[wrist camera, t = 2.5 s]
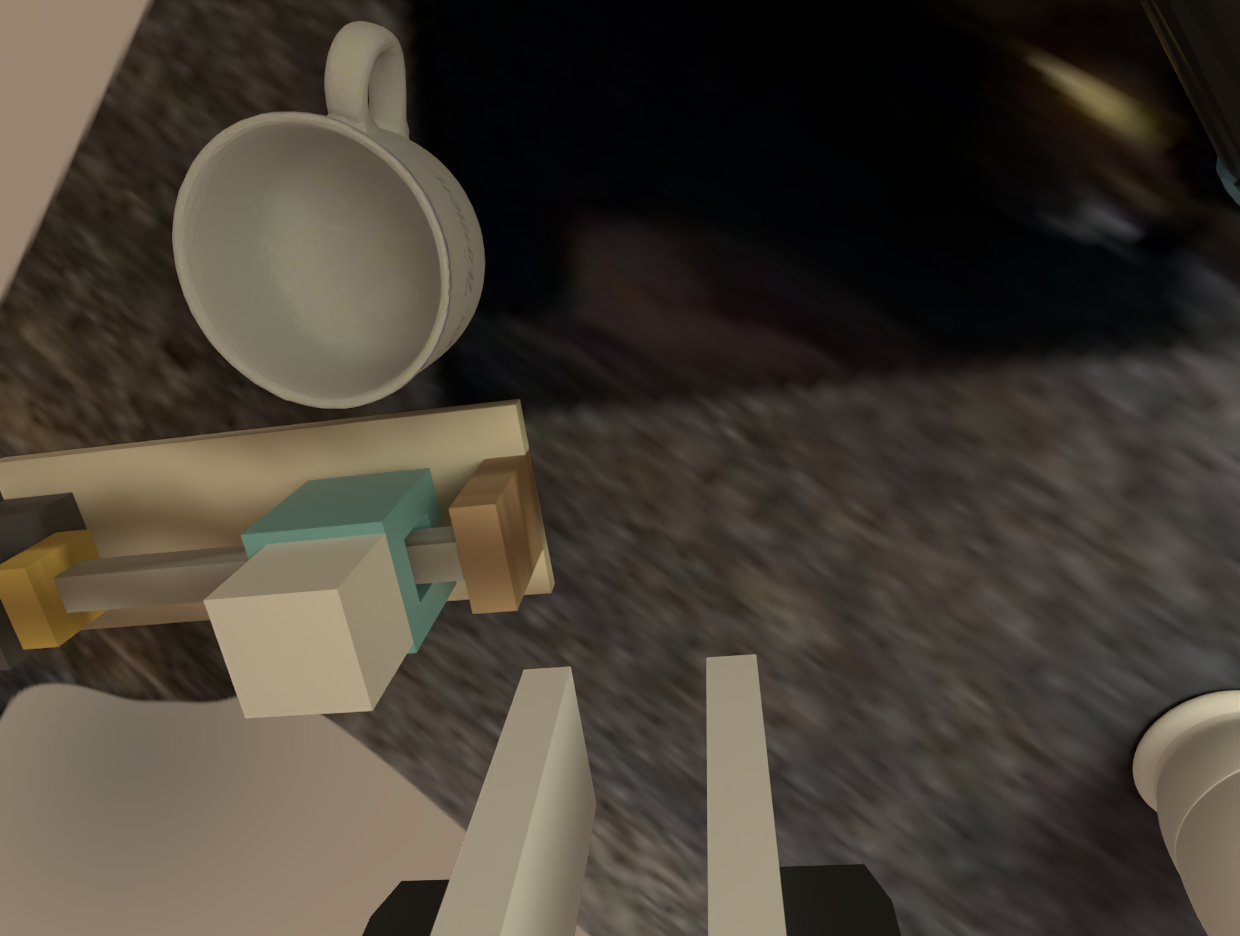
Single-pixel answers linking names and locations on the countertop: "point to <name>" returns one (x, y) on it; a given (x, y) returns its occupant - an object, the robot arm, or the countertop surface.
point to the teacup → (330, 239)
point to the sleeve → (328, 596)
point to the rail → (252, 516)
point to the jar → (1198, 801)
